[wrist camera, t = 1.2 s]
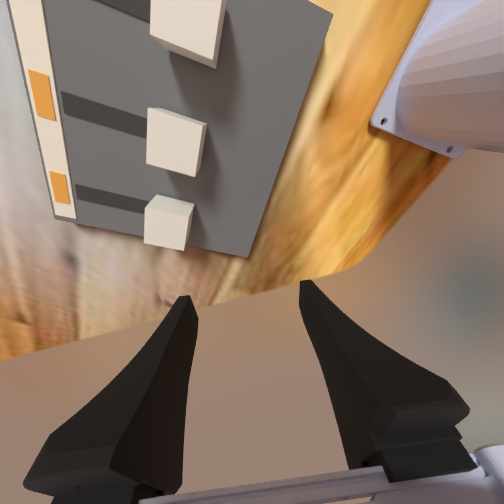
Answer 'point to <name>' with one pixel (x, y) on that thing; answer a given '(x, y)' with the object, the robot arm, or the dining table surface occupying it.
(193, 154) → the middle tab
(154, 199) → the far tab
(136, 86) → the panel
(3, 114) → the dining table surface
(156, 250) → the dining table surface
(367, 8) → the dining table surface
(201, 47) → the near tab
